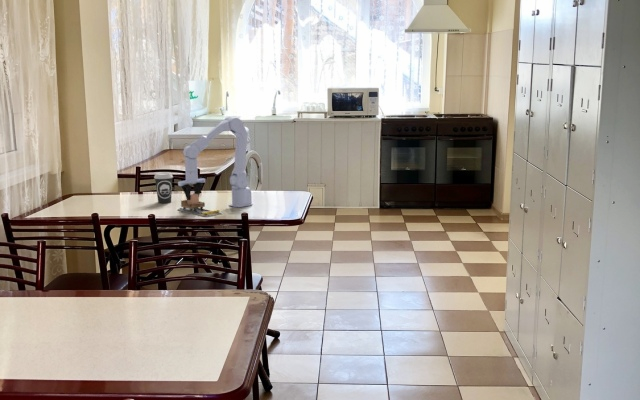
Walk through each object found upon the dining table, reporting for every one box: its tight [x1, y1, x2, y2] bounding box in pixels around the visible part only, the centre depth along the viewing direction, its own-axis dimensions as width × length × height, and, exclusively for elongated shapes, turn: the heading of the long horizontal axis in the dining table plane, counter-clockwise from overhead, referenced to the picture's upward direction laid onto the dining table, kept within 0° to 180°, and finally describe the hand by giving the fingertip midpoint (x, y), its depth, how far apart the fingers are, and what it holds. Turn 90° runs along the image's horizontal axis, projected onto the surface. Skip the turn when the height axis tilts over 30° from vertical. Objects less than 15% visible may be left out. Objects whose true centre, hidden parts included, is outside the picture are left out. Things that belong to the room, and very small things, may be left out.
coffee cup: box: [153, 171, 174, 204], centre depth 349 cm, size 10×10×15 cm
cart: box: [180, 199, 206, 211], centre depth 328 cm, size 8×8×4 cm
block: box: [186, 192, 200, 204], centre depth 328 cm, size 4×4×5 cm
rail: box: [177, 207, 223, 218], centre depth 325 cm, size 9×23×2 cm, turn 46°
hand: (192, 199), depth 328 cm, fingers open, 4 cm apart
